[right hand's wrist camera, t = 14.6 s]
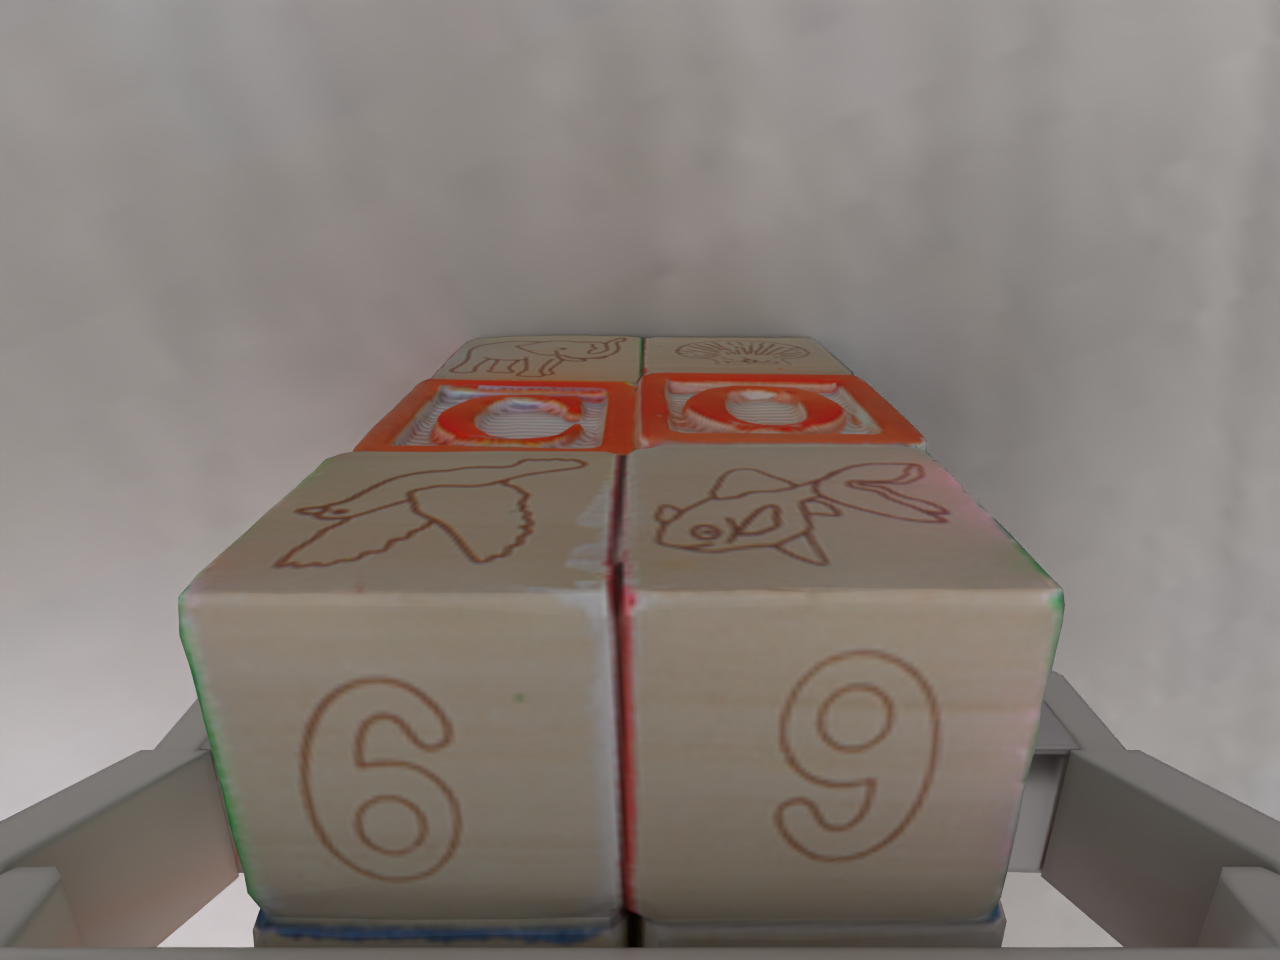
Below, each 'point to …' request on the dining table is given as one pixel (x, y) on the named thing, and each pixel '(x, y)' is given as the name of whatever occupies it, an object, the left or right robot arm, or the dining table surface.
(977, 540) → the stack of blocks
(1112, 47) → the dining table surface
